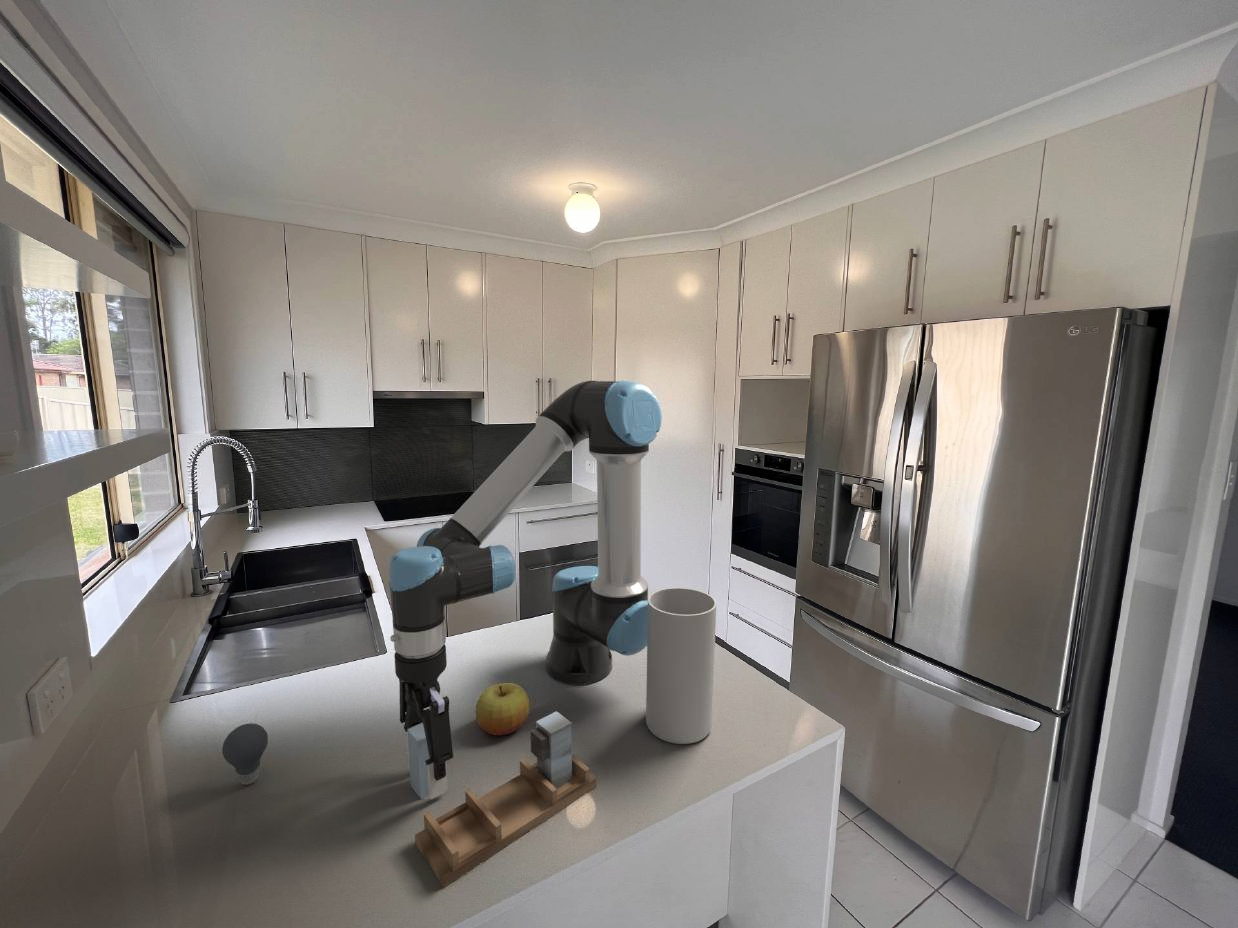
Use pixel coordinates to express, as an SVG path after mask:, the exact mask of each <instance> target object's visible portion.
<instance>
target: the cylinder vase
mask: <svg viewBox="0 0 1238 928" xmlns="http://www.w3.org/2000/svg"><path fill="white" fill-rule="evenodd" d="M716 625H717V600H716V599H715V597H714V596H712V595H711V594H709V593H707V592H704V591H701V590H698V589H693V588H689V587H669V588H661V589H658V590H656V591H654V592H652V593H651V594H649V595H648V629H647V646H646V688H645V689H646V692H645V694H646V697H645V698H646V699H645V700H646V701H645V702H646V703H645V706H646V707H645V708H646V709H645V722H646V726H647V728H648V730H650V732H651V734H653V735H654V736H655V737H657V738H658V739H660V740H662V741H665V742H666V743H669V744H670V743H671V744H676V745H688V744H690V745H691V744H694V743H697V742H700V741H702V740H703V739H705V738H706V737H707V736H708V735H709V734H710V733H711V730H712V725H713V703H714V702H713V700H714V678H715V677H714V675H715V653H716V652H715V651H716V650H715V649H716V628H717V627H716Z"/></svg>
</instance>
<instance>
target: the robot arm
mask: <svg viewBox="0 0 1238 928" xmlns="http://www.w3.org/2000/svg"><path fill="white" fill-rule="evenodd" d="M662 419H663V417H662V409H661V406H660V402H659V400H658V398H657V397H656V395H655V394H654V393H653V392H652V390H651V389H650V388H649V387H647V386H646V385H645V384H642V383H640V382H633V381H628V380H619V381H618V380H617V381H615V380H614V381H611V380H609V381H608V380H605V381H604V380H586V381H581V382H579V383H577V384H574V385H572V386H571V387H569V388H568V389H566V390H564V392H563V393H562V392H561V394H560V395H559V396H558V397H557V398H555V399H554V400H553V401H552V402H551V403H550V404H548V406H547V407H545V409H543V411H542V412H540V414H539V415H538V416H537V417H536V418H535V426H534V428H533V429H532V430H531V431H530V432H529V433H528V435H526V436H525V437H524V439H523V440H521V442H520V443H519V444H518V445H517V446H516V447H515V448H514V449H513V451H511V453H510V454H508V456H507V457H506V458H504V460H503V461H502V462H501V464H499V466H497V468H495V469H494V471H492V473H491V474H490V475H489V476H488V478H486V479H485V481H484V482H483V483H481V484H480V486H479V487H478V488H477V489H475V491H474V492H473V493H472V494H471V496H469V498H468V499H467V500H466V501H465V502H464V503H463V504H462V505H461V506H460V508H459V509H457V510H456V512H455V513H454V514H453V515H452V516H451V517H450V518H449V519H448V520H447V521H446V522H445V523H444V524H443V525H442V526H441V527H434V528H431V529H429V530H426V531H425V532H423V533H422V534H421V536H420V537H419V538H418V540H417V543H416V546H409V547H406V548H403V549H400V550H397V552H395V553H394V554H393V555H392V556H391V558H390V560H389V569H388V570H389V573H388V574H389V578H388V579H389V581H388V587H389V593H390V603H391V616H392V632H393V635H390V642H393V649H394V651H395V652H394V656H393V657H394V673H395V676H396V678H397V679H398V682H399V722H400V723H401V724H404V725H403V729H404V732H406V735H405V736H406V749H407V765H408V772H410V765H409V748H408V731H407V729H409V728H412V727H414V726H416V725H419V724H421V723H423V726H424V731H425V736H426V741H427V746H428V752H429V757H430V758H428V759H427V760H425V762H426V765H427V770H428V789H429V796H428V797H429V799H430V800H433V799H435V798H437V797H439V796H440V795H442V794H444V793H446V792H447V791H448V771H447V762H448V761H450V760H451V759H453V758H454V749H453V741H452V729H451V720H450V711H449V710H450V698H449V696H448V695H446V696H443V697H442V696H441V695H440V694H441V693H440V692H441V686H440V682H439V681H438V679H439V677H440V676H441V674H442V673H444V672H445V671H446V668H447V664H448V663H447V661H448V660H447V646H446V643H447V642H446V641H447V635H446V633H447V632H446V617H445V616H446V615H445V607H446V606H451V605H453V604H457V603H459V602H463V601H468V600H470V599H476V598H478V597H483V596H486V595H487V596H488V595H490V594H493V595H494V594H495V593H497V592H499V591H503V590H505V589H508V588H510V587H511V586H512V585H513V584H514V582H515V579H516V575H517V574H516V570H517V569H516V563H515V558H514V556H513V554H512V552H511V551H510V549H509V548H508V547H507V546H506V545H502V544H498V545H488V546H486V547H480V546H481V545H483V543H484V542H485V541H486V540H487V538H488V537H489V536H490V535H491V534H492V533H493V532H494V530H496V528H497V527H498V526H499V525H500V524H501V522H503V521H504V519H505V518H506V517H507V516H508V515H509V514H510V512H512V510H513V509H514V508H515V507H516V506H517V505H518V504H519V502H520V501H521V500H522V499H523V498H524V497H525V496H526V495H527V494H528V493H529V491H530V490H531V489H532V488H533V487H534V485H536V483H538V481H539V480H540V479H541V478H542V477H543V475H544V474H545V473H546V472H547V471H548V470H549V468H551V467H552V466H553V464H554V463H555V462H556V461H557V459H559V457H561V455H562V454H564V452H571V451H573V449H574V448H575V447H576V446H577V445H578V444H579V443H580V442H582V441H584V440H586V439H587V440H588V453H589V454H591V456H592V457H593V458H594V459H595V460H596V486H597V487H596V491H597V492H596V493H597V495H596V496H597V501H596V502H597V503H596V504H597V506H596V507H597V566H593V565H581V566H580V565H579V566H572V567H567V568H565V569H562V570H559V571H558V572H556V573H555V574H554V577H553V579H552V587H551V592H552V621H553V622H552V625H553V626H552V627H553V628H552V629H553V630H552V631H553V632H552V633H553V635H552V639H551V642H550V646H549V650H548V652H547V655H546V658H545V670H546V671H545V672H546V673H547V675H548V676H549V677H550V678H552V679H553V680H555V681H556V682H559V683H563V684H566V685H574V686H575V685H588V684H592V683H595V682H598V681H601V680H603V679H604V678H606V677H607V676H609V675H610V673H611V671H612V670H613V654H612V651H613V652H616V653H617V654H620V655H622V656H628V657H629V656H634V655H636V654H638V653H640V652H642V651H643V650H644V649H645V648H647V629H648V598H649V585H648V582H647V580H646V579H645V578H643V577H642V576H641V572H642V571H641V566H642V565H641V556H642V555H641V554H642V552H641V549H642V548H641V542H642V541H641V540H642V539H641V537H642V535H641V534H642V532H641V530H642V529H641V527H642V526H641V523H642V522H641V520H642V517H641V516H642V515H641V514H642V513H641V511H642V505H641V504H642V502H641V501H642V495H641V494H642V492H641V490H642V482H641V481H642V474H641V473H642V460H643V458H645V456H647V455H648V453H649V451H650V449H649V446H650V445H649V444H651V443H652V442H654V440H655V439H656V438H657V436H658V435H657V433H659V432H660V431H661V428H662Z"/></svg>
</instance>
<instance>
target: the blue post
mask: <svg viewBox="0 0 1238 928" xmlns="http://www.w3.org/2000/svg"><path fill="white" fill-rule="evenodd" d="M407 731H408V732H407V734H408V748H409V765H410V771H409V777H410V778H409V781H410V786H411V788H412V790H413V791H414V792H415V794H417V796H418V797H419V798H420V800H423V799H424V798H426V797H429V789H428V770H427V765H426V762H425V760H427V759H428V758H430V757H429V752H428V746H427V741H426V736H425V731H424V726H423V723H421V724H419V725H416V726H414V727H412V728H409V729H407Z"/></svg>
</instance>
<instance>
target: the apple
mask: <svg viewBox="0 0 1238 928" xmlns="http://www.w3.org/2000/svg"><path fill="white" fill-rule="evenodd" d="M529 713H530V699H529V695H528V693H527V692H526V690H525V689H524V688H523V687H521V686H520V684H517V683H513V682H501V683H497V684H494V685H492V686H489V687H488V688H485V690H484V691H483V692H482V693H481V694H480V696H479V697H478V700H477V702H476V705H475V718H476V721H477V723H478V725H479V726H480V729H482V730H484V731H485V732H486V733H488V734H489V735H494V736H505V735H509V734H512V733H513V732H515V731H517V730H519V729H520V728H521V727H522V726H523V725H524V723H525V722H526V720H527V718H528V715H529Z"/></svg>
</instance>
